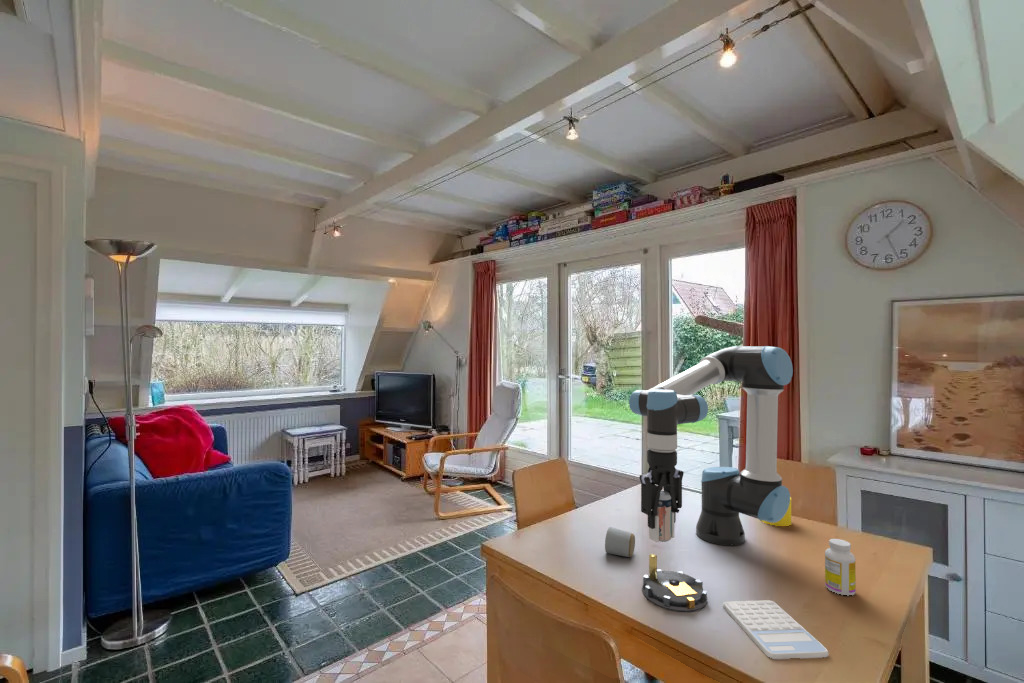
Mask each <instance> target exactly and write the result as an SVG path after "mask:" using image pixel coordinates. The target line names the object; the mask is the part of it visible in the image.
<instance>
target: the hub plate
mask: <svg viewBox="0 0 1024 683" xmlns="http://www.w3.org/2000/svg"><path fill="white" fill-rule="evenodd" d="M645 586H646V585H644V584H642V593H643V596H644V597H645V598H646V599H647V600H648V601H649V602H650V603H652V604H654V605H656V606H658V607H660V608H662V609H665V610H668V611H672V612H680V613H689V612H690V613H691V612H696V611H699V610H701V609H703V608H705V607H706V605H707V604H708V599H707V600H706V602H705V601H701V602H700V603H699V604H697V605H695V608H692V609H689V608H688V607H679V606H673V605H670V607H668V606H665V605H664V603H662V602H660V601H658V600H656V599H655V598H653V597H652V596H647V595H646V594H645Z"/></svg>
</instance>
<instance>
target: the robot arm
mask: <svg viewBox="0 0 1024 683" xmlns="http://www.w3.org/2000/svg"><path fill="white" fill-rule="evenodd" d="M793 372H794V370H793V363H792V360H791V357H790V355H788V352H787V351H786V350H785V349H783V348H781V347H777V346H769V345H764V346H763V345H762V346H760V345H759V346H748V345H747V346H746V345H743V346H742V345H736V346H735V345H734V346H729V347H725V348H722V349H720V350H718V351H715V352H713V353H712V352H711V353H710V354H708V355H706V356H704V357H702V358H701V359H700V360H699V362H698V364H696V365H693V366H691V367H690V368H688V369H686V370H685V371H683V372H680V373H678V374H677V375H675V376H672V377H670V378H668V379H667V380H665V381H664V382H661V383H659V384H657V385H655V386H653V387H651V388H649V389H648V390H645V389H636V390H634V391H633V392H632V393H631V394H630V396H629V399H628V405H629V410H630V411H631V412H632V413H633V414H636V415H638V416H642V417H647V418H646V419H647V420H646V421H647V422H646V424H647V426H646V427H647V428H646V435H647V436H646V445H647V450H646V461H647V464H648V470H647V473H646V474H640V475H639V478H638V479H639V481H640V490H641V491H640V512H641V513H643V514H646V515H647V527H648V537H649V538H648V539H650V540H651V541H653V542H656V543H658V542H660V541H659V516H657V515H656V514H657V509H658V503H659V498H660V492H661V491H665V492H668V493H669V494H670V496H671V539H674V538H675V524H676V521H677V520H676V516H677V514H679V512H680V509H681V508H682V507H683V477H684V473H685V472H684V471H683V470H680V469H677V468H676V466H677V464H678V452H677V449H678V425H684V424H690V423H692V424H695V423H697V422H701V421H703V420H705V419H706V418H707V416H708V413H709V406H708V403H707V400H706V399H705V398H704V397H702V396H701V395H698V394H696V393H699V391H701V390H703V389H705V388H706V387H709V386H710V385H717V384H718V385H719V384H720V383H723V382H728V381H729V382H731V381H733V382H741V383H742V384H741V385H742V387H741V388H742V389H743V390H744V391H745V392H746V431H745V432H746V438H745V440H746V443H745V468H744V469H743V470H741V471H740V470H739V468H736V467H733V466H732V467H731V466H711V467H706V468H704V469H703V470H702V473H701V480H700V482H701V511H700V514H699V517H698V520H697V523H696V527H695V534H696V535H697V537H699V539H700V538H701V539H702V540H704V541H706V542H708V543H712V544H716V545H719V546H721V545H722V546H740V545H742V544H744V543H745V541H746V536H745V535H746V534H745V530H744V527H743V525H742V521H741V518H740V514H742V515H746V516H749V517H752V518H754V519H756V520H757V519H758V520H759V521H761V522H762V521H763V520H764V521H767V522H771V523H775V522H778V521H780V520H781V519H782V518H783V517H784V515H785V514H786V512H787V510H788V507H789V504H790V497H791V494H790V490H789V488H788V487H786V486H785V485H783V478H782V476H781V475H780V474H779V473H778V472H777V468H778V466H777V465H778V464H777V462H778V461H777V460H778V459H777V458H778V416H779V414H778V412H779V411H778V410H779V395H780V394H782V392H784V391H785V390H784V388H785V386H787V385H788V384H790V383H791V381H792V378H793Z"/></svg>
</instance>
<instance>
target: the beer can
mask: <svg viewBox="0 0 1024 683" xmlns="http://www.w3.org/2000/svg"><path fill="white" fill-rule="evenodd" d="M656 515H657V516H659V542H660V543H663V542H664V543H666V542H667V543H668V542H669V541H670V540H672V538H671V496H670V494H669V493H668V492H665V491H664V490H661V492H660V498H659V503H658V509H657V514H656Z"/></svg>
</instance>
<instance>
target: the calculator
mask: <svg viewBox="0 0 1024 683" xmlns="http://www.w3.org/2000/svg"><path fill="white" fill-rule="evenodd" d="M722 607H723V609H724V610H725V611H726V612H727V613H728V614H729V615H730V617H731V618H732V619H733V620H734V621H735V622H736V623H737V625H738V626H739V625H740V626H739V627H740V628H741V629H742V630H743V631H744V632H745V634H746V635H748V637H749V638H750V639H751V640H752V641H753V643H755V645H756V646H757V647H758V648H759V649H760V650H761V651H762V652H763V653H764V654H765V656H767V657H768V658H769V657H770V659H771V658H772V659H771V660H791V659H790V658H800V659H819V658H820V659H821V658H823V657H824V658H828V657H829V654H830V653H829V650H828V649H827V648H826V646H824V644H823V643H821V642H820V641H819V640H818V639H817V638H815V637H814V636H813V635H812V634H811V633H810V632H809V631H808V630H806V629H805V628H804V627H803V626H802V625H801V624H800V623H799V622H797V621H796V619H794V618H793V617H792V616H791V615H790V614H788V613H787V611H785V610H784V609H783V608H782V607H781V606H779V604H777V603H776V602H775V601H774V600H769V599H765V600H761V599H760V600H737V601H736V600H735V601H734V600H733V601H724V602H723V604H722Z"/></svg>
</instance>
